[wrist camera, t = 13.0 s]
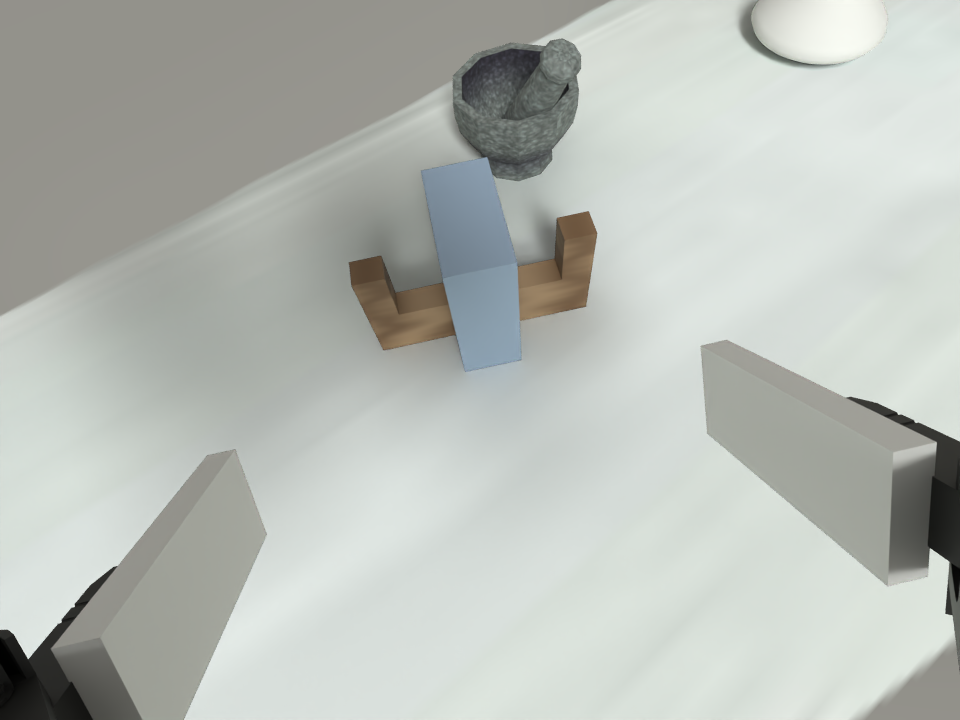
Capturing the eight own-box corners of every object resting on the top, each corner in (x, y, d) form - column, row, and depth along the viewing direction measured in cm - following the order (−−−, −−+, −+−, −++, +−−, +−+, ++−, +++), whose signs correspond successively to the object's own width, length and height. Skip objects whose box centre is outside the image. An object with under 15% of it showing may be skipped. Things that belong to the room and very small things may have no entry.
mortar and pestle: (440, 151, 49) (414, 13, 38) (522, 101, 51) (519, -42, 40) (521, 224, 44) (517, 90, 34) (607, 166, 46) (629, 23, 36)
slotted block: (465, 371, 39) (442, 278, 29) (446, 280, 42) (420, 170, 33) (521, 359, 39) (517, 262, 29) (497, 269, 42) (487, 157, 33)
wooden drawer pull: (383, 350, 40) (351, 285, 33) (380, 329, 41) (348, 262, 34) (585, 306, 40) (597, 233, 33) (579, 286, 41) (588, 211, 34)
